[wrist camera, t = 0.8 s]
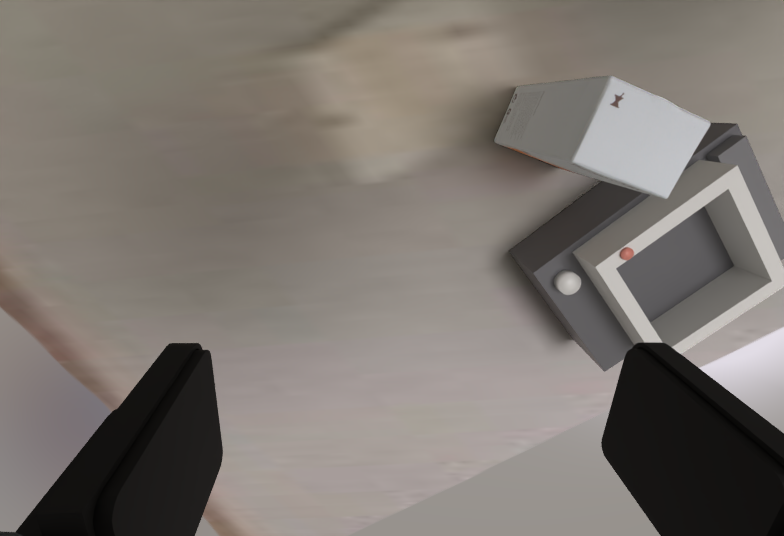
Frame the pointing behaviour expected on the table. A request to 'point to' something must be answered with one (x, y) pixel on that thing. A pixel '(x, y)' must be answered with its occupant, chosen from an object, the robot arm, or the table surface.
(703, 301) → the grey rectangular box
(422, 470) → the table surface
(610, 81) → the skincare box
